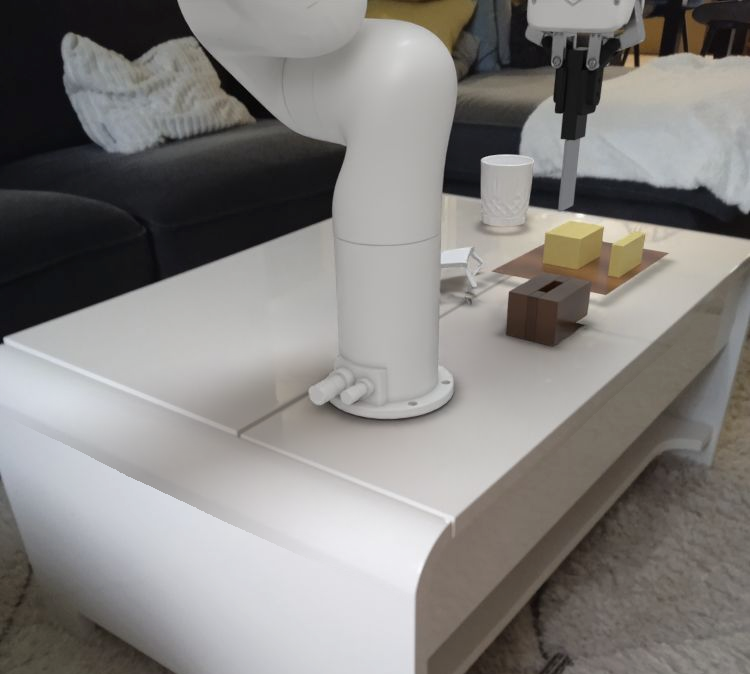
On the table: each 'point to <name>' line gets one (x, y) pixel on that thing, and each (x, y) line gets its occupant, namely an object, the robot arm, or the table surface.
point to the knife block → (547, 308)
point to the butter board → (592, 271)
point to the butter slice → (626, 254)
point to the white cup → (505, 189)
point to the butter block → (573, 244)
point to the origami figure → (461, 263)
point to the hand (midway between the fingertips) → (575, 111)
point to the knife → (571, 127)
